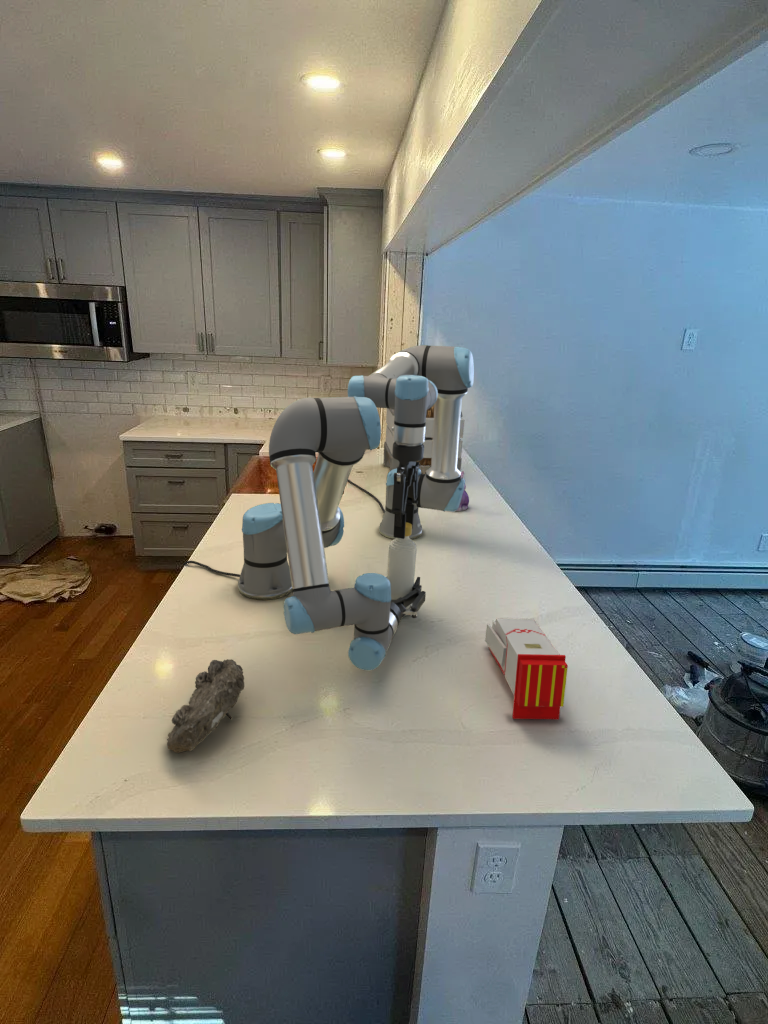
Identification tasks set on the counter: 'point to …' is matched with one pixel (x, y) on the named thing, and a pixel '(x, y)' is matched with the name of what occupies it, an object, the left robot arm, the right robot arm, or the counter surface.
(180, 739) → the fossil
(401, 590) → the bottle
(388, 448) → the grey slatted box
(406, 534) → the cap
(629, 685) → the counter surface
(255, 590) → the left robot arm
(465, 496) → the figurine
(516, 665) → the toy
